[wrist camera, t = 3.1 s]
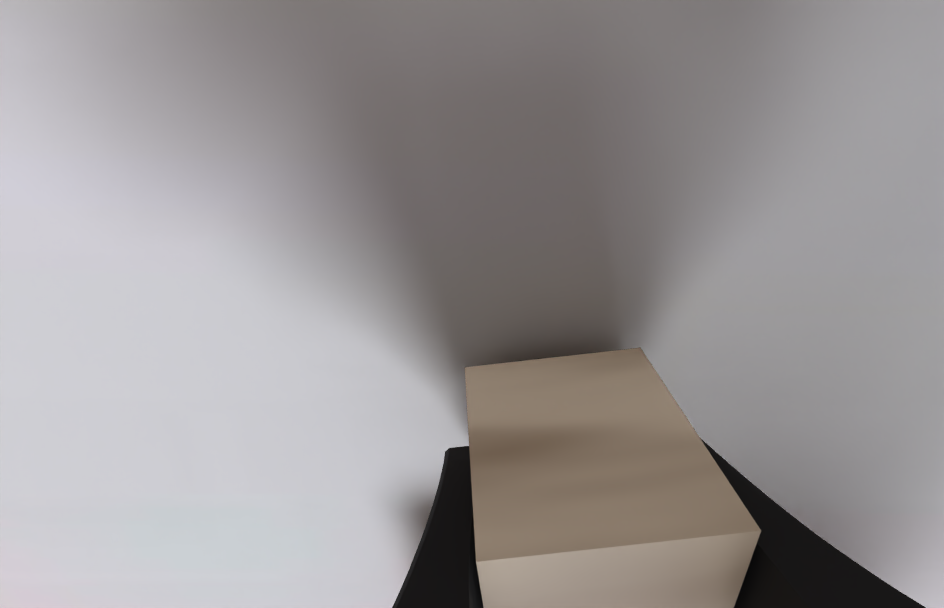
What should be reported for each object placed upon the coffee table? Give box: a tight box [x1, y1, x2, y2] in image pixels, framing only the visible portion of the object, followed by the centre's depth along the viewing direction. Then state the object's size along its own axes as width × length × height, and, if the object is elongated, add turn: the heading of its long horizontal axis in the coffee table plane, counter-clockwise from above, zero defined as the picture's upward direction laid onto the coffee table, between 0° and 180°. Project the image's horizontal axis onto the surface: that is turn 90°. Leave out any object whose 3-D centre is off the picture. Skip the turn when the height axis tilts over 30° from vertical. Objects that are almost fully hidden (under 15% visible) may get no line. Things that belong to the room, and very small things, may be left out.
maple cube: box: [465, 348, 761, 608], centre depth 10 cm, size 4×4×5 cm
